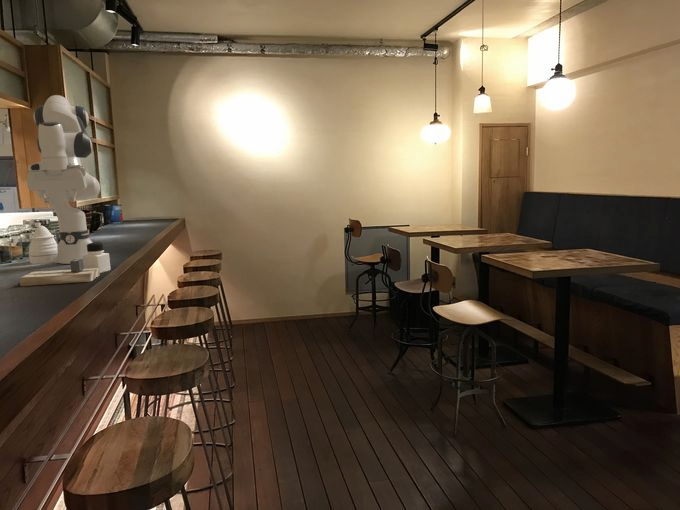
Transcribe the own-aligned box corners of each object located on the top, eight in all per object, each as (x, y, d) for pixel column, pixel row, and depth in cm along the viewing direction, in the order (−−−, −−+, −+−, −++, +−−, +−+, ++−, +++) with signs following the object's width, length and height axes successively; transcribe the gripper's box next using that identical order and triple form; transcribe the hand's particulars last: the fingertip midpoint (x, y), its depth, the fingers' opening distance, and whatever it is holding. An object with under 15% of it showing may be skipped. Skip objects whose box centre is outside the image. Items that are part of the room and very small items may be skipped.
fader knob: (75, 269, 195) (74, 259, 195) (84, 268, 196) (82, 258, 195) (71, 272, 190) (69, 261, 190) (79, 271, 191) (78, 260, 190)
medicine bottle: (111, 270, 210) (108, 241, 208) (98, 273, 204) (95, 244, 201) (96, 269, 212) (93, 241, 210) (84, 273, 205) (80, 243, 203)
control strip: (34, 279, 197) (33, 271, 196) (100, 275, 201) (99, 267, 200) (20, 286, 185) (19, 277, 184) (90, 281, 189) (89, 273, 188)
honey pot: (23, 263, 234) (17, 224, 231) (46, 258, 246) (41, 221, 243) (45, 264, 230) (39, 224, 227) (67, 259, 242) (62, 221, 239)
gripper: (87, 164, 198) (91, 200, 200) (30, 166, 195) (35, 202, 197) (81, 164, 192) (86, 201, 194) (23, 166, 188) (28, 203, 191)
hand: (59, 202), depth 196 cm, fingers open, 8 cm apart
